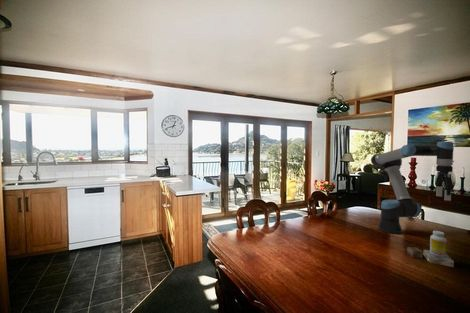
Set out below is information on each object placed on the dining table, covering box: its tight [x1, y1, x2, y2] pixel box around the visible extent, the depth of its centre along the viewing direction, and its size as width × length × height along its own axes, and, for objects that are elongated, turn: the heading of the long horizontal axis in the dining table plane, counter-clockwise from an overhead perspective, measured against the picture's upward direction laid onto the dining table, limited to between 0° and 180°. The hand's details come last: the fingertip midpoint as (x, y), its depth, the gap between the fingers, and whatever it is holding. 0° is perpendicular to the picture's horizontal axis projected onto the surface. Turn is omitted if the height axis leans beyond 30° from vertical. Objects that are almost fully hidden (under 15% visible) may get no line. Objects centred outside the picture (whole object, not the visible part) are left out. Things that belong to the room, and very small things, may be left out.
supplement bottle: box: [429, 230, 448, 257], centre depth 120 cm, size 7×7×13 cm
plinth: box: [423, 249, 455, 268], centre depth 120 cm, size 10×10×3 cm
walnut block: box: [406, 246, 424, 259], centre depth 125 cm, size 5×5×4 cm
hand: (443, 198), depth 137 cm, fingers open, 13 cm apart
